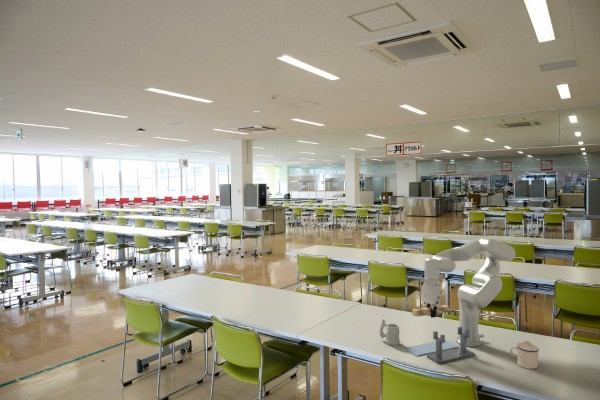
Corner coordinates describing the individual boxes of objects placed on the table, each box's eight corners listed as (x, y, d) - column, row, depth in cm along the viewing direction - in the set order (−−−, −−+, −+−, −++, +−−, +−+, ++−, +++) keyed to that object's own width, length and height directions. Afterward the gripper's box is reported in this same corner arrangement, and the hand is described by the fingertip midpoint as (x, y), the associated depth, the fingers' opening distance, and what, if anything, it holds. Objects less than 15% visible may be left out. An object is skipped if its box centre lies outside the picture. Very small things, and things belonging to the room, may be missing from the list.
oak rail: (444, 310, 208) (445, 304, 208) (449, 311, 206) (449, 306, 206) (412, 314, 200) (412, 309, 200) (416, 316, 197) (416, 310, 197)
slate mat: (445, 340, 214) (445, 339, 214) (458, 347, 204) (458, 346, 204) (403, 348, 203) (403, 347, 203) (416, 356, 194) (416, 355, 194)
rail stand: (463, 349, 202) (463, 325, 201) (475, 355, 194) (475, 330, 194) (426, 357, 192) (427, 331, 192) (438, 364, 185) (438, 337, 185)
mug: (396, 347, 204) (396, 325, 204) (376, 341, 212) (376, 320, 212) (402, 343, 210) (402, 321, 210) (383, 337, 218) (383, 316, 218)
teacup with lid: (539, 364, 185) (539, 340, 185) (537, 371, 178) (538, 346, 177) (511, 357, 192) (511, 334, 192) (508, 364, 185) (508, 340, 184)
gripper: (415, 278, 208) (414, 312, 209) (437, 285, 193) (436, 322, 194) (426, 277, 211) (425, 310, 212) (448, 284, 196) (447, 320, 197)
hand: (430, 315), depth 203 cm, fingers closed on oak rail, 3 cm apart
